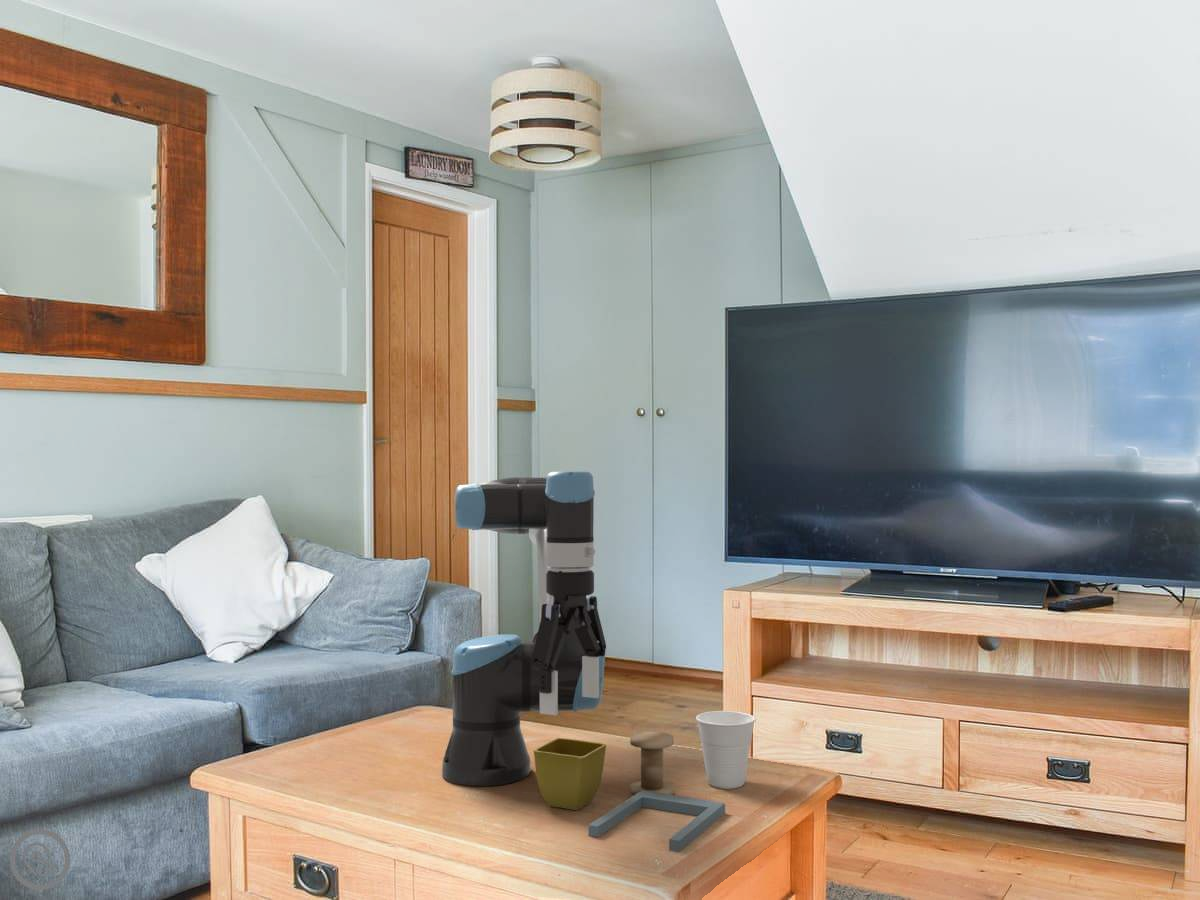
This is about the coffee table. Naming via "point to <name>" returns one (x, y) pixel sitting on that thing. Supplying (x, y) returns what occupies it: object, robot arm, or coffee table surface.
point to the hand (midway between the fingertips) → (570, 705)
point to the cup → (725, 746)
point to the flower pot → (569, 771)
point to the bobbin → (651, 762)
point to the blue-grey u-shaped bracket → (701, 808)
